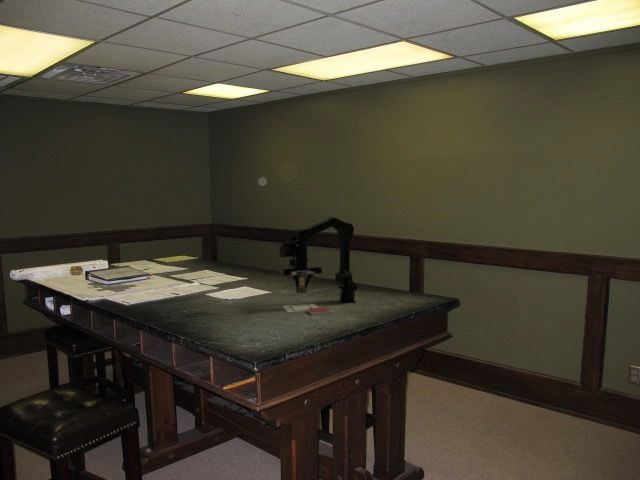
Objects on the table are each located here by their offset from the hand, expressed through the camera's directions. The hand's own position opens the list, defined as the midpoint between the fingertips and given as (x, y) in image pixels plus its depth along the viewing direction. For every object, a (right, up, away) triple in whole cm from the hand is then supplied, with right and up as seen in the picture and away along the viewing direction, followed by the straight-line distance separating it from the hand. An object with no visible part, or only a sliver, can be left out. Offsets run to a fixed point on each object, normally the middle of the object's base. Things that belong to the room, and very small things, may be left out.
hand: (301, 288), depth 239 cm
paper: (0, -9, +1) cm, 10 cm away
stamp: (0, -2, 0) cm, 2 cm away
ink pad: (+9, -10, -7) cm, 15 cm away
